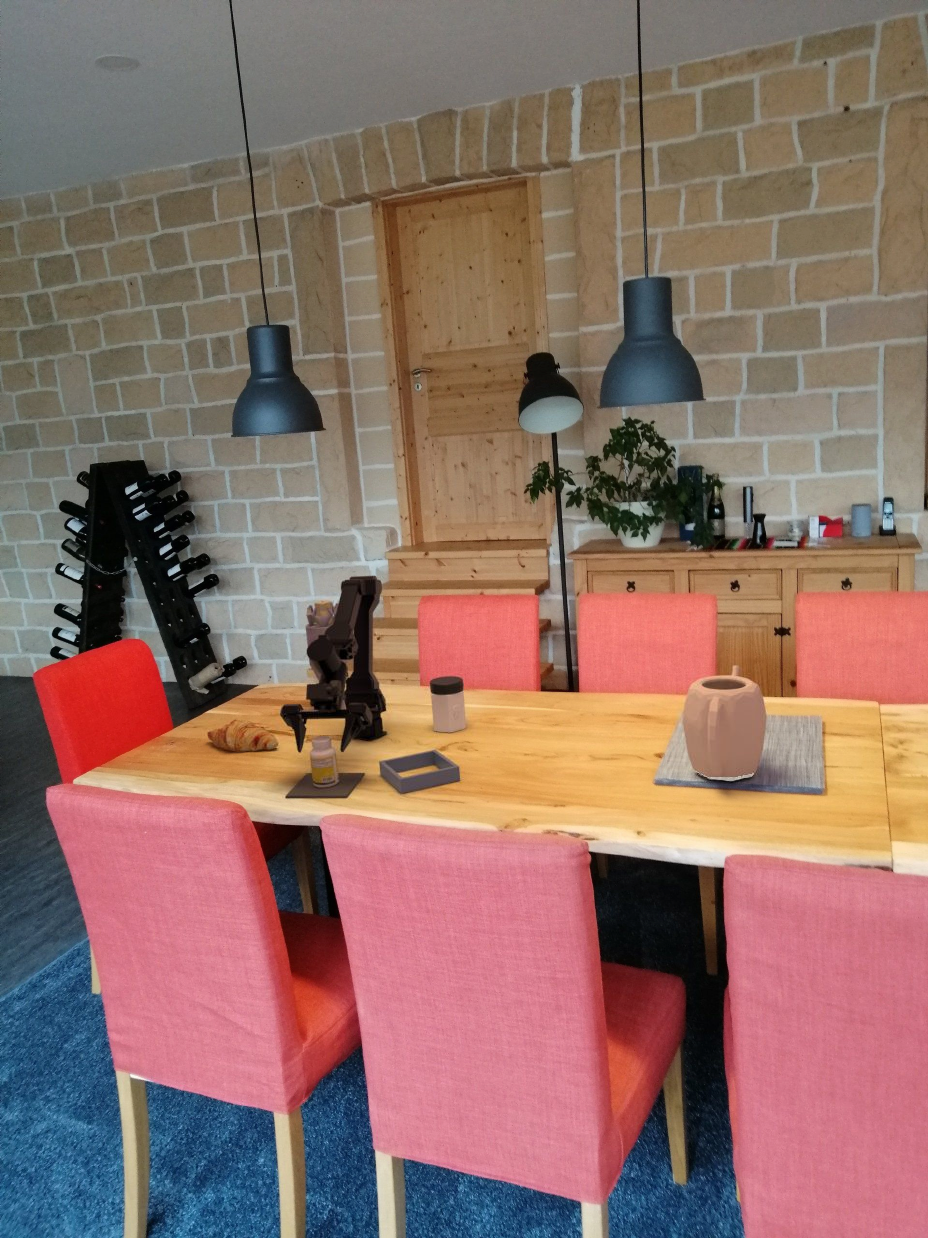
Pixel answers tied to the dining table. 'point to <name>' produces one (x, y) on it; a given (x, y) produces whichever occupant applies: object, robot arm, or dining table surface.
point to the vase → (320, 626)
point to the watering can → (724, 725)
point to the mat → (339, 790)
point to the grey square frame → (424, 780)
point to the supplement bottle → (323, 762)
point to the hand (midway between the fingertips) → (320, 751)
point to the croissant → (242, 737)
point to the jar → (448, 704)
